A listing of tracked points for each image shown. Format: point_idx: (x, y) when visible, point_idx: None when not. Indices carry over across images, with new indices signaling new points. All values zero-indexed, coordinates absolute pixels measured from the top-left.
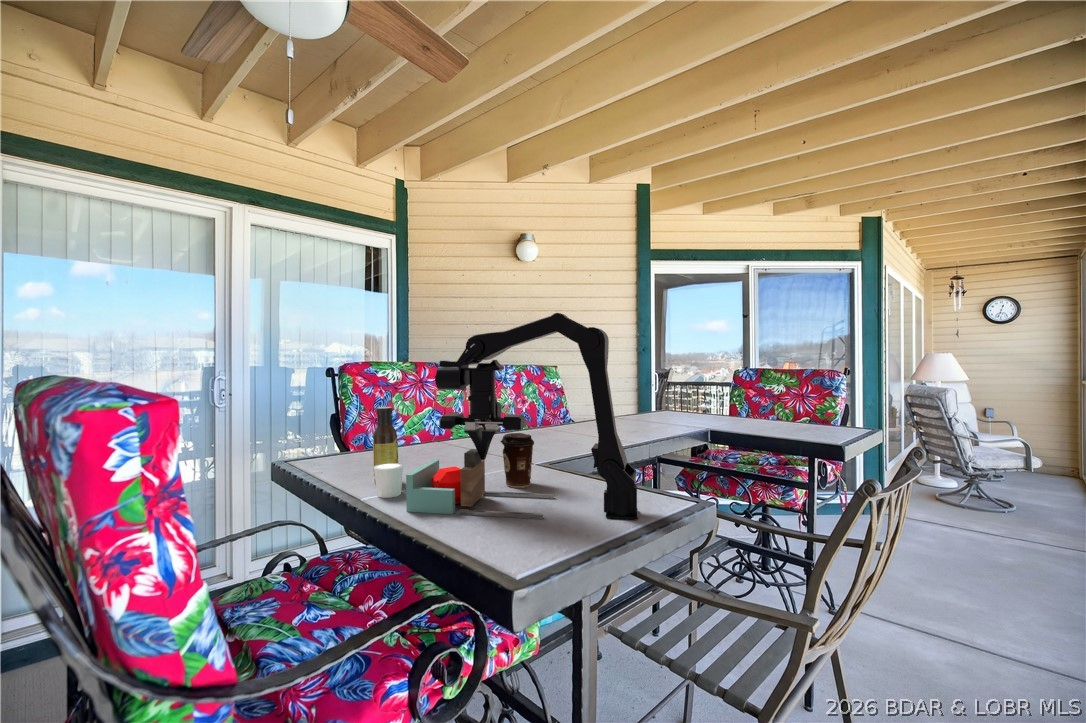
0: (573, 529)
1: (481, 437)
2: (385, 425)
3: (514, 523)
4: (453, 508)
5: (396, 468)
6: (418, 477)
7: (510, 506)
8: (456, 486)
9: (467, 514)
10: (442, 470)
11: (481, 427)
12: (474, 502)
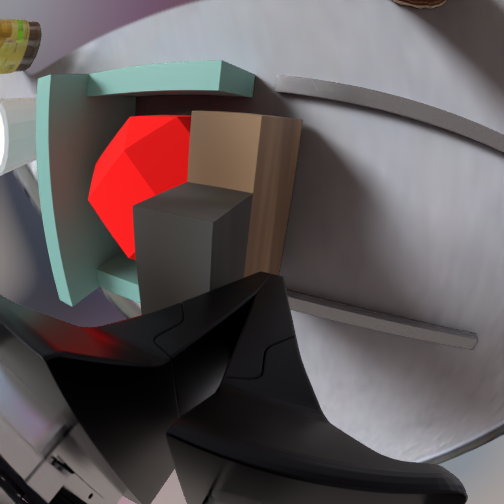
0: (496, 388)
1: (178, 397)
2: None
3: (399, 362)
4: None
5: (7, 158)
6: (76, 260)
7: (408, 233)
8: None
9: None
10: (105, 225)
11: (59, 403)
12: (282, 249)
